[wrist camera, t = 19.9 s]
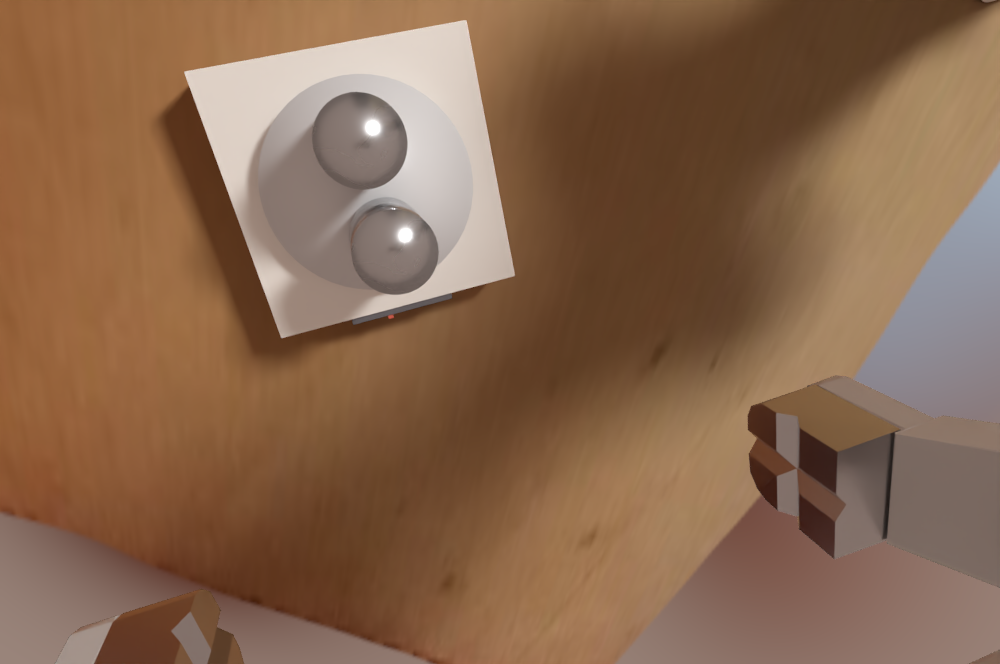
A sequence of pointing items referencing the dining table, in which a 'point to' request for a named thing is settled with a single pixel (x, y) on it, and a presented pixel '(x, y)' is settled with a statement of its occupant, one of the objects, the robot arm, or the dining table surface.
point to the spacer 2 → (392, 246)
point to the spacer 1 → (359, 140)
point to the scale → (331, 206)
